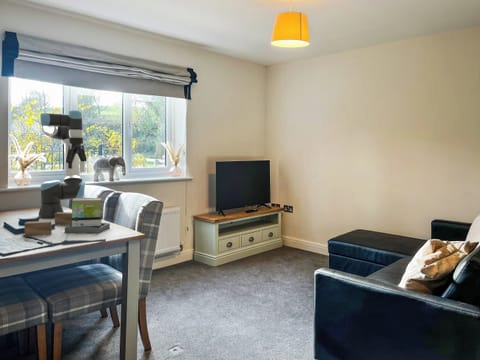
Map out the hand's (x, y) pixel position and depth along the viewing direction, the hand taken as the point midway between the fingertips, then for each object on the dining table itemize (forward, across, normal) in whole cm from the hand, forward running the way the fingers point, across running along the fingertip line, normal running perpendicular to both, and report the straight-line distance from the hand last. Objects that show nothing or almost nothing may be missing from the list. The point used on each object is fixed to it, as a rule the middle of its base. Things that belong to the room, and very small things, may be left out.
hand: (76, 173), depth 230 cm
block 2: (+31, +2, -6) cm, 31 cm away
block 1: (+30, +30, -6) cm, 43 cm away
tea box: (+27, +16, +14) cm, 35 cm away
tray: (+30, +17, +14) cm, 37 cm away
